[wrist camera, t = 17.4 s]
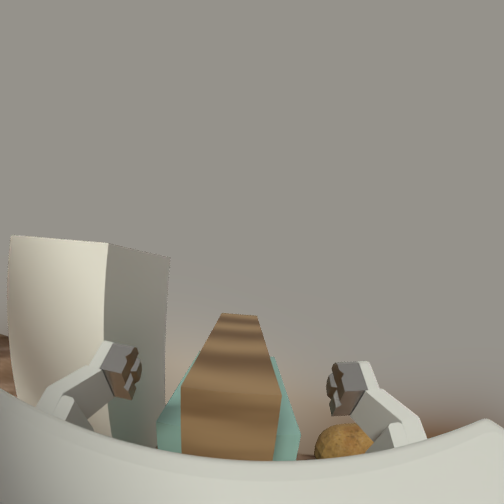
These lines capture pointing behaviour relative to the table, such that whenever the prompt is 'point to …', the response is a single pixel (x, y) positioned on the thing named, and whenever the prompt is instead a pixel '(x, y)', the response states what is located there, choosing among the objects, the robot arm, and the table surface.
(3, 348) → the table surface
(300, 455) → the table surface
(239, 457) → the rail
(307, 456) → the table surface
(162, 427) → the teal box
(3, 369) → the table surface
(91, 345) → the stand
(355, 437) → the potato
